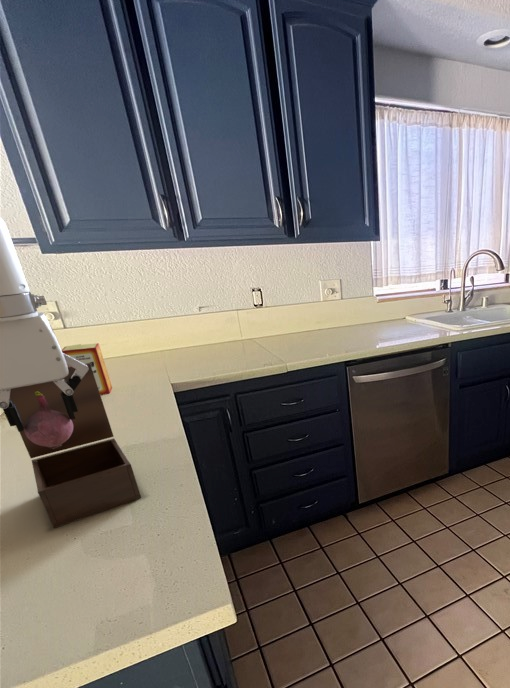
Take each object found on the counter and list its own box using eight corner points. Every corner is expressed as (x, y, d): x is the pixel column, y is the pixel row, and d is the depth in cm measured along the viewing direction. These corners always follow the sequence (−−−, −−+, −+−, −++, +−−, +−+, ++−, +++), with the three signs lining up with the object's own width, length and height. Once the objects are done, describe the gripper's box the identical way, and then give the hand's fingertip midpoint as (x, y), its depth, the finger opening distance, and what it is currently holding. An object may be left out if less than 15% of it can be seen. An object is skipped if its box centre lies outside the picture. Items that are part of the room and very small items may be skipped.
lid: (90, 363, 86) (86, 358, 89) (-4, 379, 77) (-4, 373, 81) (113, 436, 93) (109, 429, 96) (30, 458, 84) (29, 450, 88)
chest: (141, 497, 86) (130, 464, 82) (53, 528, 77) (37, 492, 74) (124, 468, 97) (114, 438, 93) (45, 492, 88) (31, 459, 85)
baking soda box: (112, 387, 149) (98, 342, 142) (109, 393, 144) (95, 346, 137) (80, 391, 146) (64, 345, 139) (77, 397, 140) (60, 349, 133)
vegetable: (88, 442, 73) (69, 386, 69) (57, 459, 67) (35, 400, 63) (57, 439, 74) (37, 384, 70) (25, 456, 68) (0, 398, 64)
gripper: (70, 298, 69) (103, 403, 76) (-80, 312, 58) (-24, 431, 66) (77, 303, 63) (112, 415, 71) (-86, 319, 53) (-24, 447, 61)
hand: (46, 421), depth 68 cm, fingers closed on vegetable, 6 cm apart
